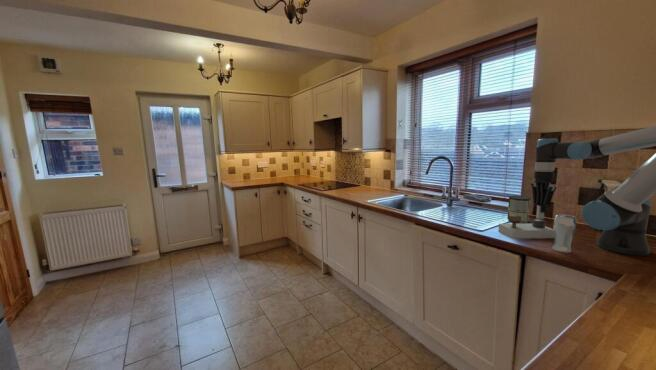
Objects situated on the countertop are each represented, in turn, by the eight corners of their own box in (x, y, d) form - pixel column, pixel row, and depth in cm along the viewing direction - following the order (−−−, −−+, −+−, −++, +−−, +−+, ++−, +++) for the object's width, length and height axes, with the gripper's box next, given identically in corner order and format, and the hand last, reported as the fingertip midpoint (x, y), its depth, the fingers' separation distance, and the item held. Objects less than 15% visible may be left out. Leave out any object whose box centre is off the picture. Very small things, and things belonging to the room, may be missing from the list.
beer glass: (550, 250, 112) (554, 216, 110) (551, 245, 117) (555, 212, 115) (572, 254, 108) (577, 219, 105) (572, 249, 113) (576, 215, 110)
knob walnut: (522, 229, 129) (523, 217, 128) (512, 229, 129) (513, 217, 129) (515, 226, 134) (516, 214, 133) (505, 226, 134) (506, 214, 133)
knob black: (546, 233, 129) (548, 221, 128) (536, 233, 129) (537, 221, 129) (539, 230, 134) (540, 218, 133) (529, 230, 134) (530, 218, 134)
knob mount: (554, 238, 126) (555, 230, 126) (512, 238, 127) (513, 230, 126) (537, 230, 137) (538, 223, 137) (498, 231, 138) (499, 223, 137)
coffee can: (503, 217, 162) (505, 195, 160) (521, 218, 161) (523, 195, 159) (513, 222, 152) (515, 198, 150) (532, 223, 151) (535, 198, 149)
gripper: (564, 171, 121) (558, 221, 124) (541, 169, 134) (537, 215, 137) (547, 172, 121) (542, 222, 124) (526, 169, 134) (522, 215, 137)
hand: (540, 218), depth 131 cm, fingers closed
